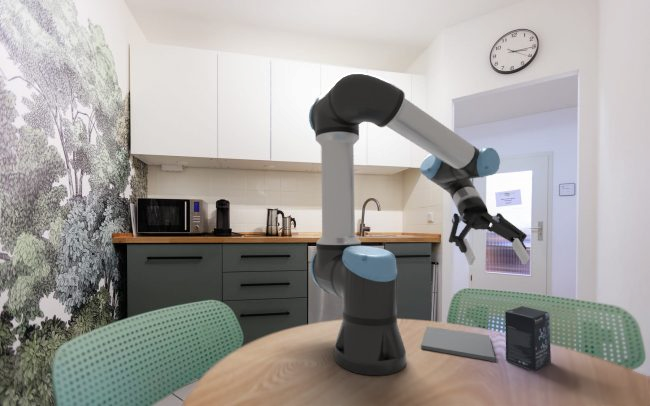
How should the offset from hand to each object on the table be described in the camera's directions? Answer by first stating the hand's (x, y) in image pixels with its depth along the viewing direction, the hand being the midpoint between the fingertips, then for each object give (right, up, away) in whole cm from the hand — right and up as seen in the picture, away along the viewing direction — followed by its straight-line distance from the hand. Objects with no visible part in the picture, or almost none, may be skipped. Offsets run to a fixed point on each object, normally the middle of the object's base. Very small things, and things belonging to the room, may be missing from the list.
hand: (499, 261), depth 76 cm
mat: (-12, -19, -3) cm, 23 cm away
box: (-1, -19, -12) cm, 23 cm away
